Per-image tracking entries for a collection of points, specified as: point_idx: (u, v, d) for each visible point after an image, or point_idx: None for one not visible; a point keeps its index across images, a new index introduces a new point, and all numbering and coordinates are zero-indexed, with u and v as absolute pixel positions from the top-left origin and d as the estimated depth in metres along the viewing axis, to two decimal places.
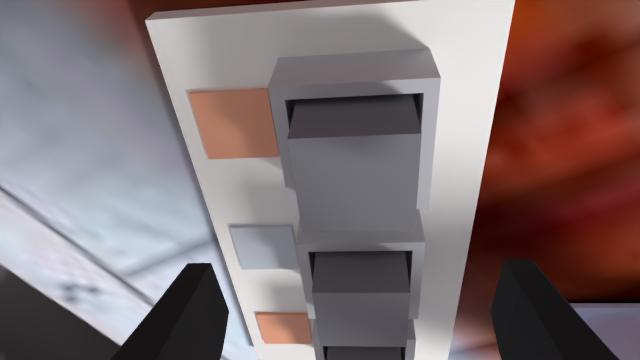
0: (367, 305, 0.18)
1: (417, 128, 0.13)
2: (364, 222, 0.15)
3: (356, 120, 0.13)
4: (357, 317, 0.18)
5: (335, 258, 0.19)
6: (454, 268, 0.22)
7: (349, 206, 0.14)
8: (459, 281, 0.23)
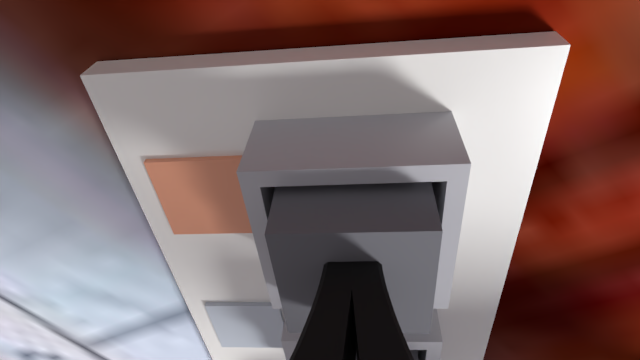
0: None
1: (436, 221, 0.09)
2: None
3: (355, 205, 0.10)
4: None
5: None
6: (473, 348, 0.19)
7: None
8: None
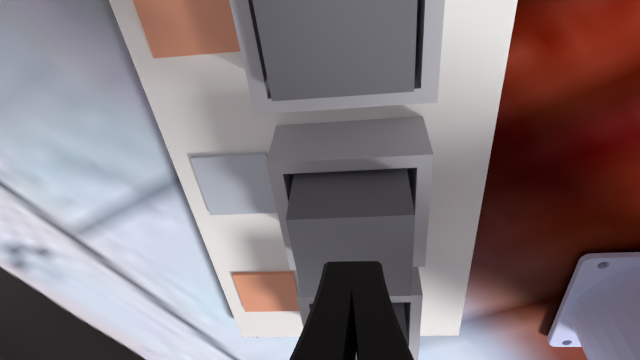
0: (359, 237, 0.13)
1: None
2: (349, 81, 0.12)
3: None
4: (346, 253, 0.14)
5: (318, 181, 0.15)
6: (468, 206, 0.18)
7: (329, 55, 0.11)
8: (474, 224, 0.19)
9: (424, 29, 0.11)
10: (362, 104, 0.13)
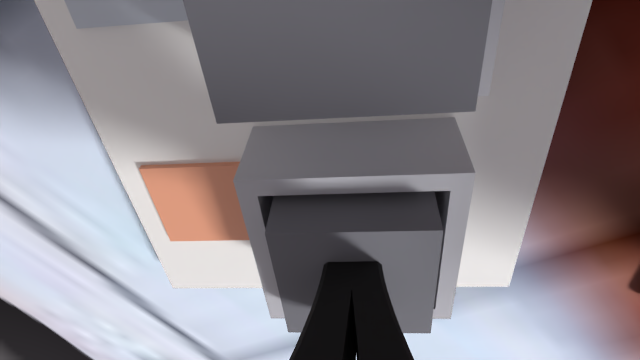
0: None
1: None
2: None
3: None
4: None
5: None
6: (566, 1, 0.09)
7: None
8: (571, 49, 0.10)
9: None
10: None
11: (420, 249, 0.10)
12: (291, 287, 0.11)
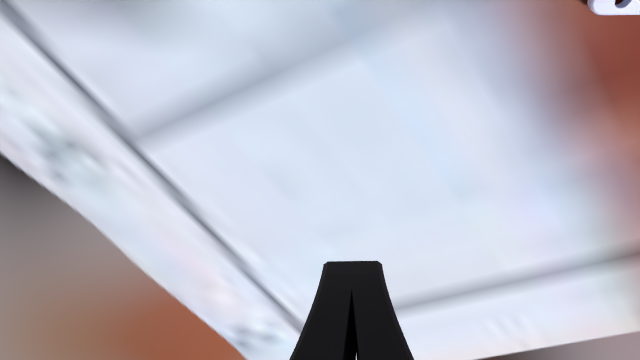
0: None
1: None
2: None
3: None
4: None
5: None
6: None
7: None
8: None
9: None
10: None
11: None
12: None
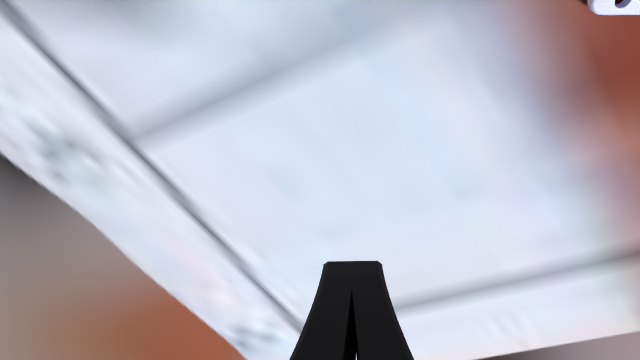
0: None
1: None
2: None
3: None
4: None
5: None
6: None
7: None
8: None
9: None
10: None
11: None
12: None
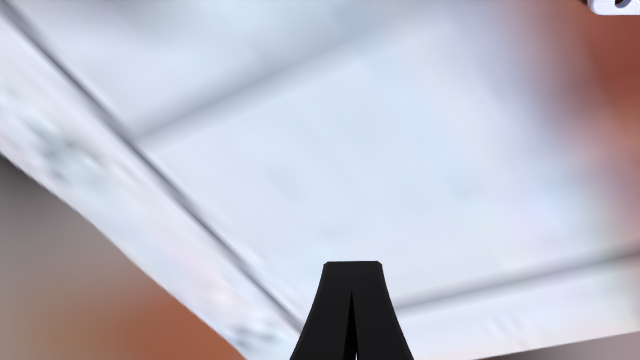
0: None
1: None
2: None
3: None
4: None
5: None
6: None
7: None
8: None
9: None
10: None
11: None
12: None
